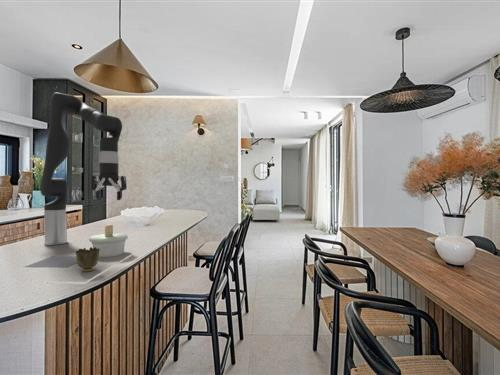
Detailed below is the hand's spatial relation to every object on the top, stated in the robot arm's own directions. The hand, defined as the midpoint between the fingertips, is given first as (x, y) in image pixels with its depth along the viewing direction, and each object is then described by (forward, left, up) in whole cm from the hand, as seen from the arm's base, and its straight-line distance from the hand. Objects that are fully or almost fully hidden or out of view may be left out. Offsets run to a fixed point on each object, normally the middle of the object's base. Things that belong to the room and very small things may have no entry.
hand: (109, 199), depth 130 cm
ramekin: (0, 0, -24) cm, 24 cm away
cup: (+24, +4, -24) cm, 34 cm away
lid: (0, 0, -17) cm, 17 cm away
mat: (+13, -13, -24) cm, 30 cm away
